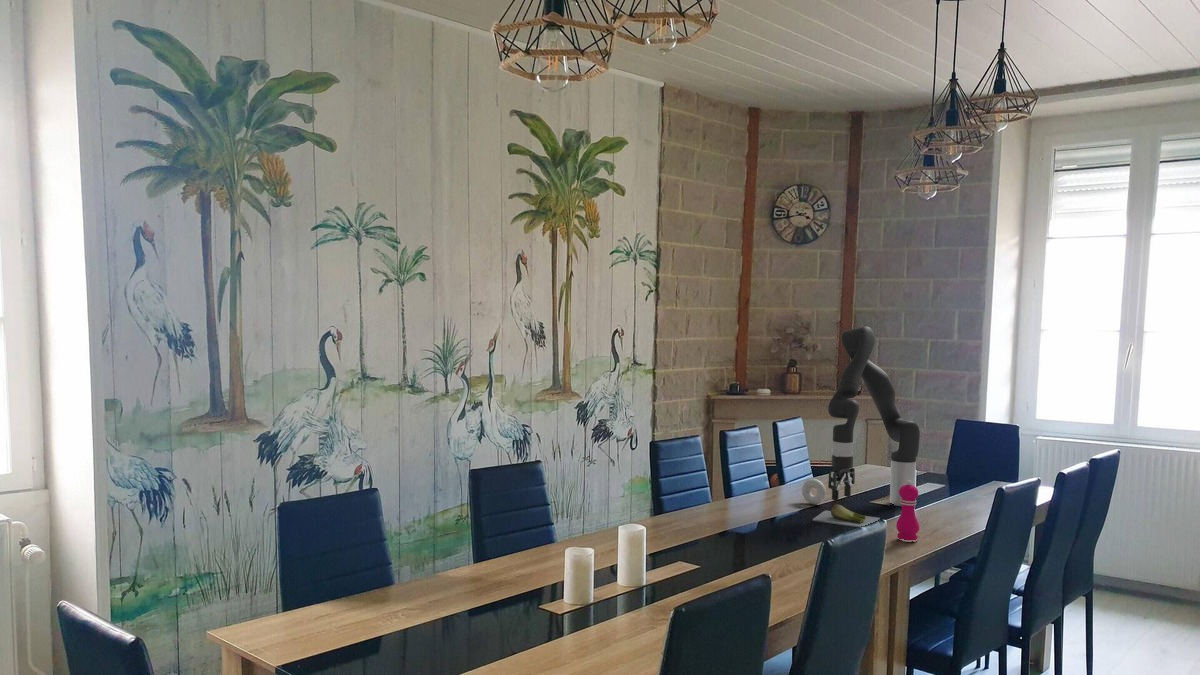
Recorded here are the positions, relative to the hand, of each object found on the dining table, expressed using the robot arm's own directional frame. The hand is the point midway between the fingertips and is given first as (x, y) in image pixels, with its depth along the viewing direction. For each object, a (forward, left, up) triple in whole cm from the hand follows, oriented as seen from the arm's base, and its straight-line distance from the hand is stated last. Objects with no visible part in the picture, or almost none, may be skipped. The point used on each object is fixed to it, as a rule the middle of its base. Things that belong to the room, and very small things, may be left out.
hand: (841, 498), depth 304 cm
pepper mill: (+15, +26, -8) cm, 31 cm away
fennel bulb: (+1, -3, -4) cm, 5 cm away
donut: (-17, -15, -8) cm, 24 cm away
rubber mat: (0, +2, -8) cm, 8 cm away
